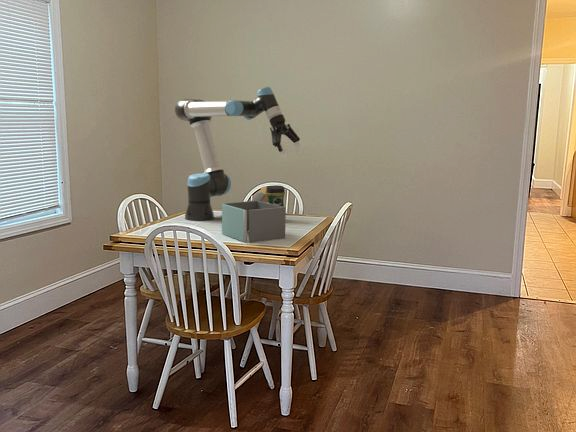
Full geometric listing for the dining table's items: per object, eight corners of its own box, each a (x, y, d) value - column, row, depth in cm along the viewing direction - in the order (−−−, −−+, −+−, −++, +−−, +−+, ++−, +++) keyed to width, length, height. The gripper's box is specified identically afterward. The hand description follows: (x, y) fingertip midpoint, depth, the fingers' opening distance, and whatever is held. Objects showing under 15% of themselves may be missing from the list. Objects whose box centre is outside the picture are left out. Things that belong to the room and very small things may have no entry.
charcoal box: (249, 242, 235) (250, 210, 232) (224, 233, 254) (223, 203, 252) (285, 238, 245) (285, 207, 242) (257, 229, 264) (257, 200, 262)
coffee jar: (281, 219, 294) (281, 184, 291) (286, 221, 287) (286, 186, 284) (264, 219, 291) (264, 184, 288) (268, 222, 284) (269, 186, 281)
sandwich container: (239, 214, 309) (239, 187, 307) (263, 212, 318) (263, 186, 315) (246, 216, 302) (246, 189, 300) (270, 214, 311) (271, 187, 308)
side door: (244, 242, 235) (244, 210, 232) (222, 233, 252) (221, 204, 250) (247, 241, 235) (247, 210, 233) (224, 233, 253) (224, 204, 250)
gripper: (265, 114, 262) (283, 155, 261) (295, 112, 282) (312, 149, 281) (254, 122, 267) (272, 161, 265) (285, 118, 287) (301, 156, 285)
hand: (292, 155), depth 273 cm, fingers open, 13 cm apart
